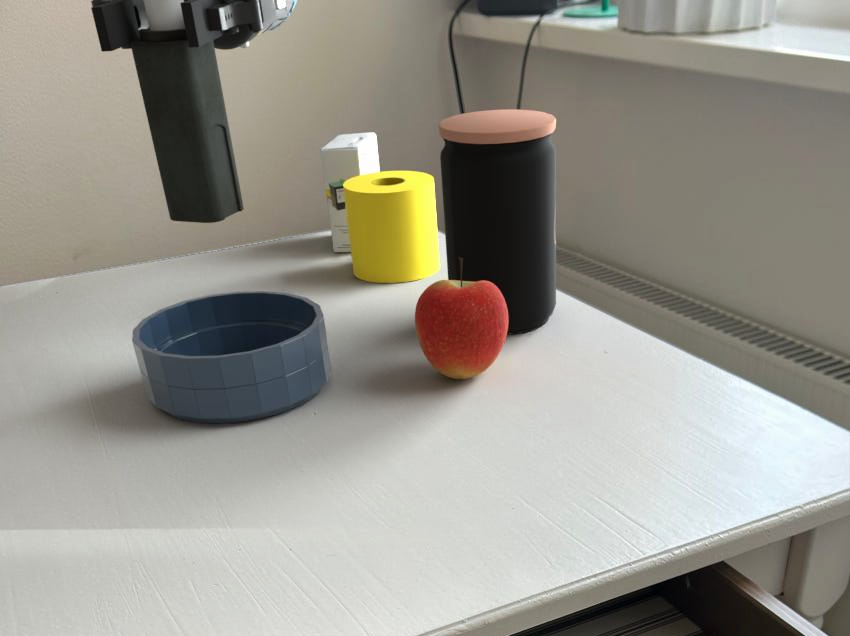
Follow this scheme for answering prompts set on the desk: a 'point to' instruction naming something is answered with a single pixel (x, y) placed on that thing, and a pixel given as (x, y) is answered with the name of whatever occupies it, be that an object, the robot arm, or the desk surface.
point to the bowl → (233, 355)
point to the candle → (186, 118)
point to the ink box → (346, 177)
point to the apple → (461, 325)
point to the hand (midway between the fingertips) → (145, 27)
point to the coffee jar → (503, 207)
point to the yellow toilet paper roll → (392, 226)
